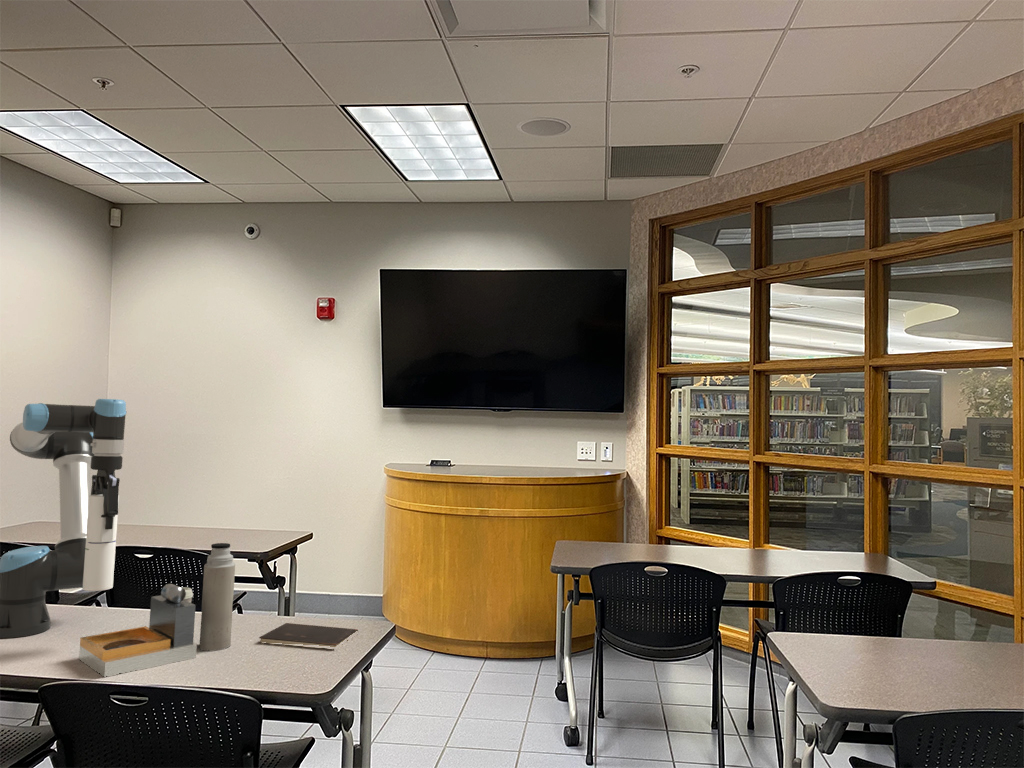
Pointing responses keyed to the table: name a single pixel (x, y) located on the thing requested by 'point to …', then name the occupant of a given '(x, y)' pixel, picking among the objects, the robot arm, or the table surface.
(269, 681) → the table surface
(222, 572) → the thermos bottle
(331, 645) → the hardcover book
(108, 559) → the cylindrical container
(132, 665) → the grey stand with tray
